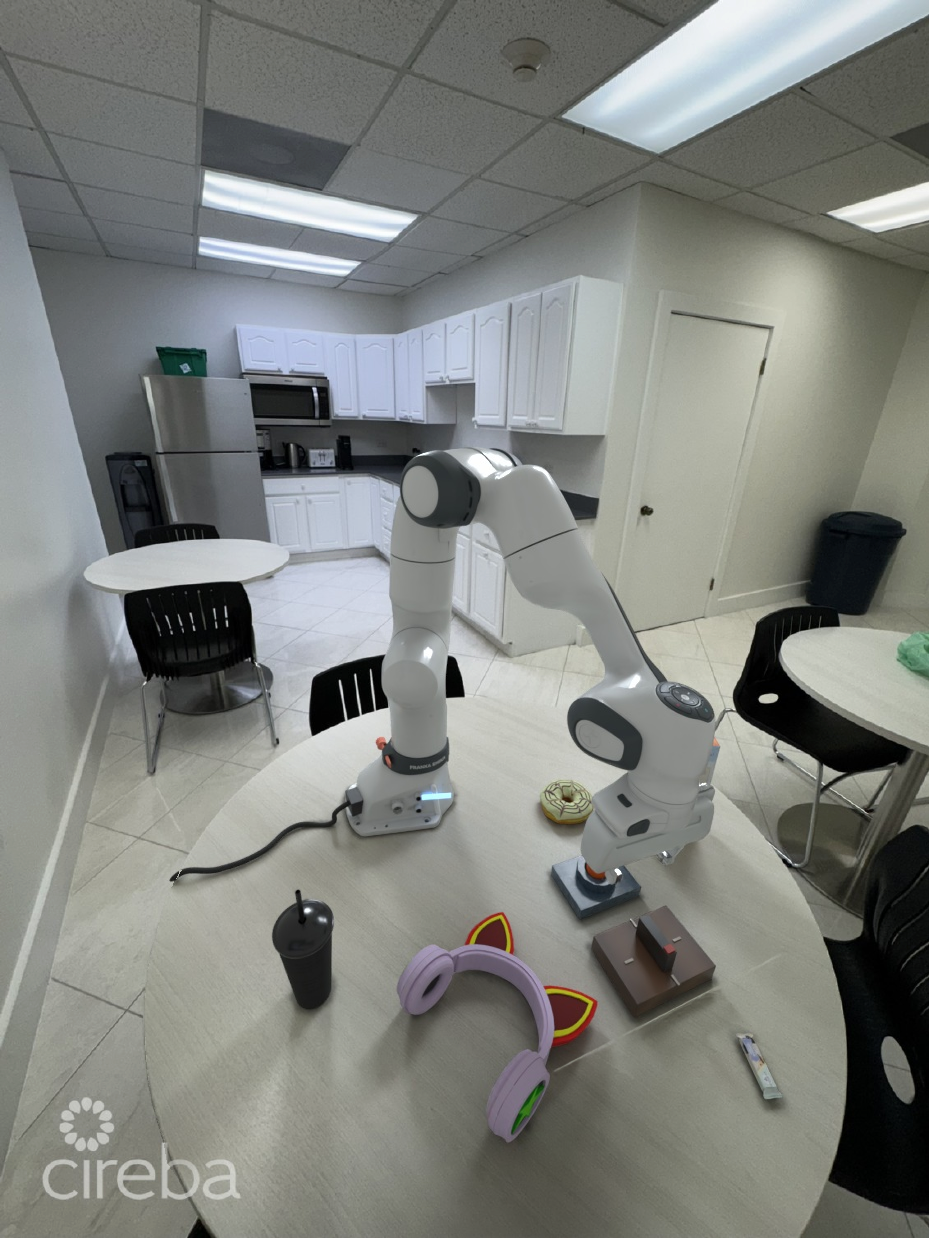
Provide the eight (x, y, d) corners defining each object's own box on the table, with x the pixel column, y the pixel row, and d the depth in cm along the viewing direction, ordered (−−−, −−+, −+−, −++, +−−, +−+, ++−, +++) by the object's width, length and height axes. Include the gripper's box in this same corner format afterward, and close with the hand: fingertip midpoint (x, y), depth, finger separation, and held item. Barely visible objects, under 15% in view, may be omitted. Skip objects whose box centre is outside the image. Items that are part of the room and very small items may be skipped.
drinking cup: (311, 1034, 64) (294, 933, 56) (273, 999, 68) (251, 900, 60) (353, 981, 70) (342, 883, 62) (315, 952, 74) (300, 855, 66)
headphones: (389, 977, 63) (495, 873, 75) (399, 1015, 68) (498, 912, 80) (501, 1129, 50) (609, 974, 62) (504, 1163, 55) (604, 1013, 66)
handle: (635, 933, 74) (639, 916, 73) (643, 929, 75) (648, 912, 73) (663, 972, 69) (668, 955, 68) (672, 968, 70) (677, 951, 68)
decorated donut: (530, 798, 104) (531, 784, 102) (572, 784, 108) (574, 771, 106) (557, 834, 95) (559, 820, 93) (602, 818, 99) (605, 804, 98)
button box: (579, 919, 79) (582, 902, 78) (550, 874, 87) (552, 857, 85) (639, 895, 83) (643, 879, 82) (606, 854, 91) (609, 838, 90)
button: (594, 881, 82) (595, 874, 81) (581, 864, 85) (583, 857, 84) (612, 875, 83) (613, 867, 82) (599, 858, 86) (600, 851, 85)
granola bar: (782, 1101, 59) (784, 1096, 58) (763, 1101, 59) (765, 1096, 58) (750, 1035, 65) (752, 1030, 65) (733, 1035, 65) (735, 1030, 65)
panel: (634, 1019, 67) (638, 1005, 65) (590, 947, 75) (593, 934, 74) (712, 979, 71) (717, 965, 70) (662, 917, 80) (666, 903, 79)
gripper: (699, 766, 72) (679, 835, 78) (581, 797, 65) (568, 871, 71) (735, 795, 67) (710, 868, 73) (610, 833, 60) (593, 910, 65)
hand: (639, 870), depth 72 cm, fingers open, 8 cm apart
